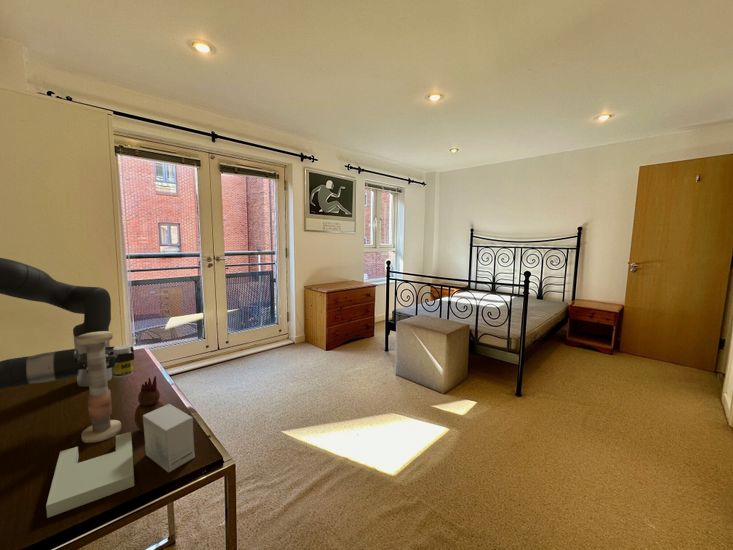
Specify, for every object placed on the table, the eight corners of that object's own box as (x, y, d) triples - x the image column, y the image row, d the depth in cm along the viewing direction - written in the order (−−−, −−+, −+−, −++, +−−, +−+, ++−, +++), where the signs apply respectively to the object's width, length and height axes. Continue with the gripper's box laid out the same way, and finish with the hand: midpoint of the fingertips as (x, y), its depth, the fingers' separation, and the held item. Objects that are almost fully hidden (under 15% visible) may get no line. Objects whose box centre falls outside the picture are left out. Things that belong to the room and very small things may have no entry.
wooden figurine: (170, 426, 87) (167, 373, 85) (149, 438, 82) (146, 383, 80) (152, 420, 89) (149, 369, 87) (131, 432, 84) (127, 378, 82)
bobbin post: (83, 430, 84) (74, 333, 81) (121, 420, 89) (115, 328, 86) (80, 447, 78) (71, 342, 74) (121, 435, 83) (114, 337, 79)
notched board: (61, 461, 73) (60, 451, 72) (131, 440, 81) (131, 431, 80) (47, 517, 59) (46, 505, 58) (134, 485, 67) (133, 474, 66)
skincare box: (143, 455, 76) (141, 414, 74) (172, 441, 81) (170, 402, 80) (167, 474, 70) (164, 429, 69) (195, 457, 76) (194, 416, 74)
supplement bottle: (122, 379, 91) (120, 351, 90) (108, 377, 92) (106, 349, 91) (137, 372, 96) (135, 345, 94) (124, 370, 97) (122, 343, 95)
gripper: (48, 361, 78) (134, 348, 89) (56, 344, 89) (132, 334, 100) (51, 390, 79) (135, 373, 90) (59, 369, 90) (133, 357, 101)
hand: (133, 353), depth 95 cm, fingers closed on supplement bottle, 4 cm apart
